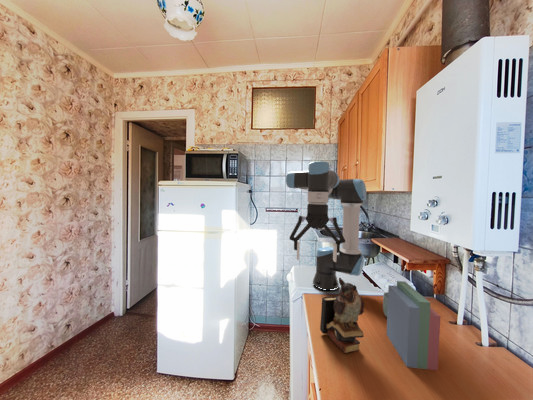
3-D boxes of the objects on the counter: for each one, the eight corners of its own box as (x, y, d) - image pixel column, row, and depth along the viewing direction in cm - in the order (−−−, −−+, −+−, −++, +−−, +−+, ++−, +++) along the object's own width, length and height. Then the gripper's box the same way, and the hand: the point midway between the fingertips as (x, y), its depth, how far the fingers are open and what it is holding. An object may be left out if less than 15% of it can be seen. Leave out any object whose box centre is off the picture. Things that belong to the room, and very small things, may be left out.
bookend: (319, 331, 85) (321, 270, 84) (342, 328, 88) (344, 268, 87) (340, 360, 71) (342, 286, 70) (367, 354, 73) (370, 284, 72)
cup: (406, 321, 93) (407, 298, 93) (394, 324, 91) (395, 301, 90) (391, 311, 101) (392, 291, 100) (378, 314, 98) (379, 293, 98)
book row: (386, 334, 84) (388, 280, 83) (411, 337, 83) (413, 282, 82) (406, 367, 68) (409, 300, 67) (437, 371, 67) (441, 303, 66)
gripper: (283, 203, 77) (282, 260, 77) (355, 205, 73) (353, 265, 74) (284, 202, 84) (283, 254, 85) (349, 204, 81) (347, 258, 82)
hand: (315, 259), depth 79 cm, fingers open, 13 cm apart
